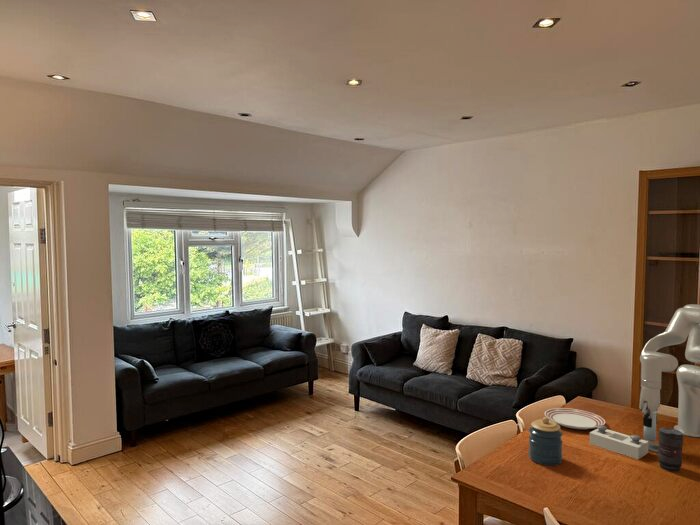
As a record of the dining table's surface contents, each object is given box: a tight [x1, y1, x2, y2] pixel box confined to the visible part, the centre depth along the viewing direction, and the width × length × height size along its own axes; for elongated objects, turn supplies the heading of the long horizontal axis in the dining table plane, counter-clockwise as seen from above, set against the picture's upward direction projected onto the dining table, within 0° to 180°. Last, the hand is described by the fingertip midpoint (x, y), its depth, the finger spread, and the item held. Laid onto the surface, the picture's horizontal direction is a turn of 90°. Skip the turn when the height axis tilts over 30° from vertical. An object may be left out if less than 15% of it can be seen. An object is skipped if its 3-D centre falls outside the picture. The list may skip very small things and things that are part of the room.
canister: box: [528, 416, 564, 466], centre depth 200 cm, size 13×13×18 cm
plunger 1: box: [596, 424, 608, 434], centre depth 216 cm, size 4×4×6 cm
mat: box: [644, 439, 659, 454], centre depth 211 cm, size 9×9×1 cm
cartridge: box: [643, 409, 658, 442], centre depth 211 cm, size 5×5×13 cm
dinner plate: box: [544, 407, 606, 430], centre depth 240 cm, size 28×27×3 cm
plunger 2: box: [629, 434, 642, 444], centre depth 204 cm, size 4×4×6 cm
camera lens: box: [657, 427, 684, 473], centre depth 191 cm, size 8×8×15 cm
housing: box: [588, 428, 649, 460], centre depth 210 cm, size 20×10×5 cm, turn 37°
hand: (650, 424), depth 211 cm, fingers closed on cartridge, 4 cm apart
